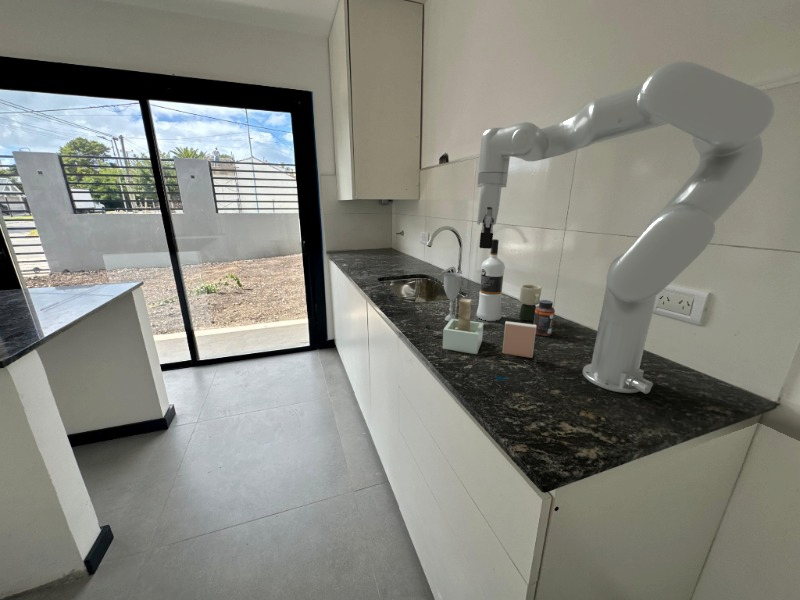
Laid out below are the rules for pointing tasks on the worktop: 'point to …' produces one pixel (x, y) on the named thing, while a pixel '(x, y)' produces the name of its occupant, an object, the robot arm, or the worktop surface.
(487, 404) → the worktop surface
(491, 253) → the vodka
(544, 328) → the supplement bottle
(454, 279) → the chalice
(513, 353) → the tile
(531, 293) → the character mug
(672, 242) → the robot arm
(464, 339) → the holder
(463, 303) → the wooden block with tab
